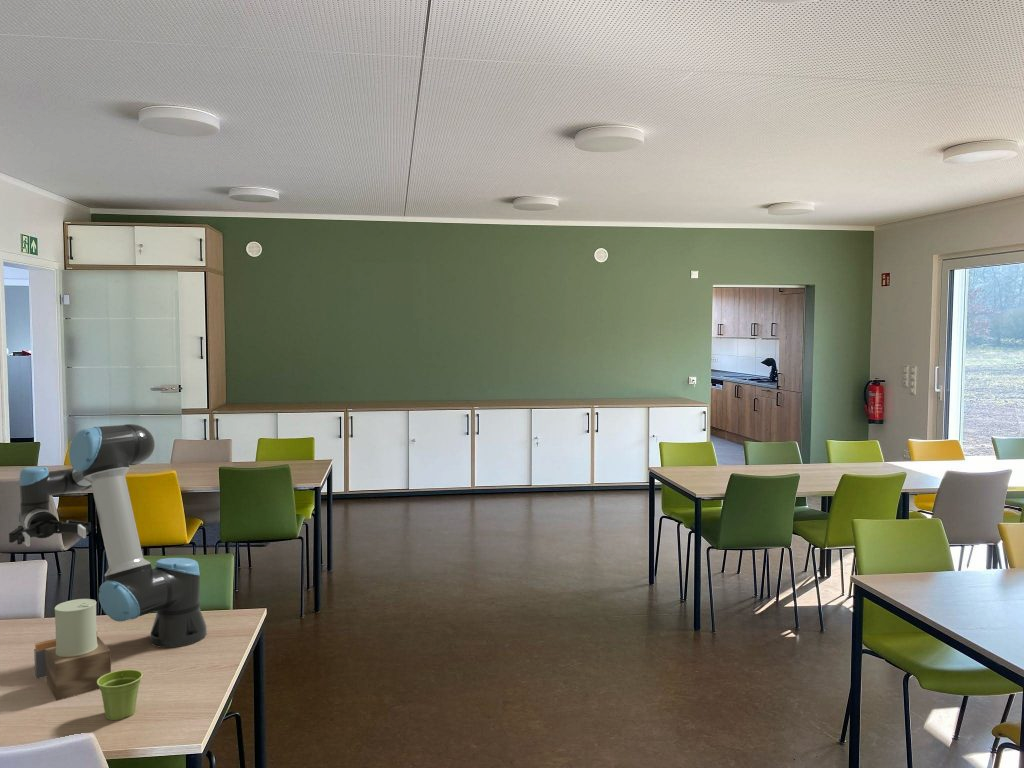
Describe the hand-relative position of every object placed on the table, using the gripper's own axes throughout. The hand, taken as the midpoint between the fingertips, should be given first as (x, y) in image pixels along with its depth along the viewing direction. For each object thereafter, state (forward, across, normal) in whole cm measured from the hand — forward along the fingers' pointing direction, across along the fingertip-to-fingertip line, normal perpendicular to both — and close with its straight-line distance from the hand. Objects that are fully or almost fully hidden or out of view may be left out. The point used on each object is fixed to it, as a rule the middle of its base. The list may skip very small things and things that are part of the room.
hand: (57, 537), depth 209 cm
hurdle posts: (+16, +1, -32) cm, 36 cm away
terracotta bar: (+16, +1, -25) cm, 29 cm away
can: (+27, +2, -23) cm, 36 cm away
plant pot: (+51, -2, -32) cm, 60 cm away
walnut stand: (+28, +1, -32) cm, 42 cm away
